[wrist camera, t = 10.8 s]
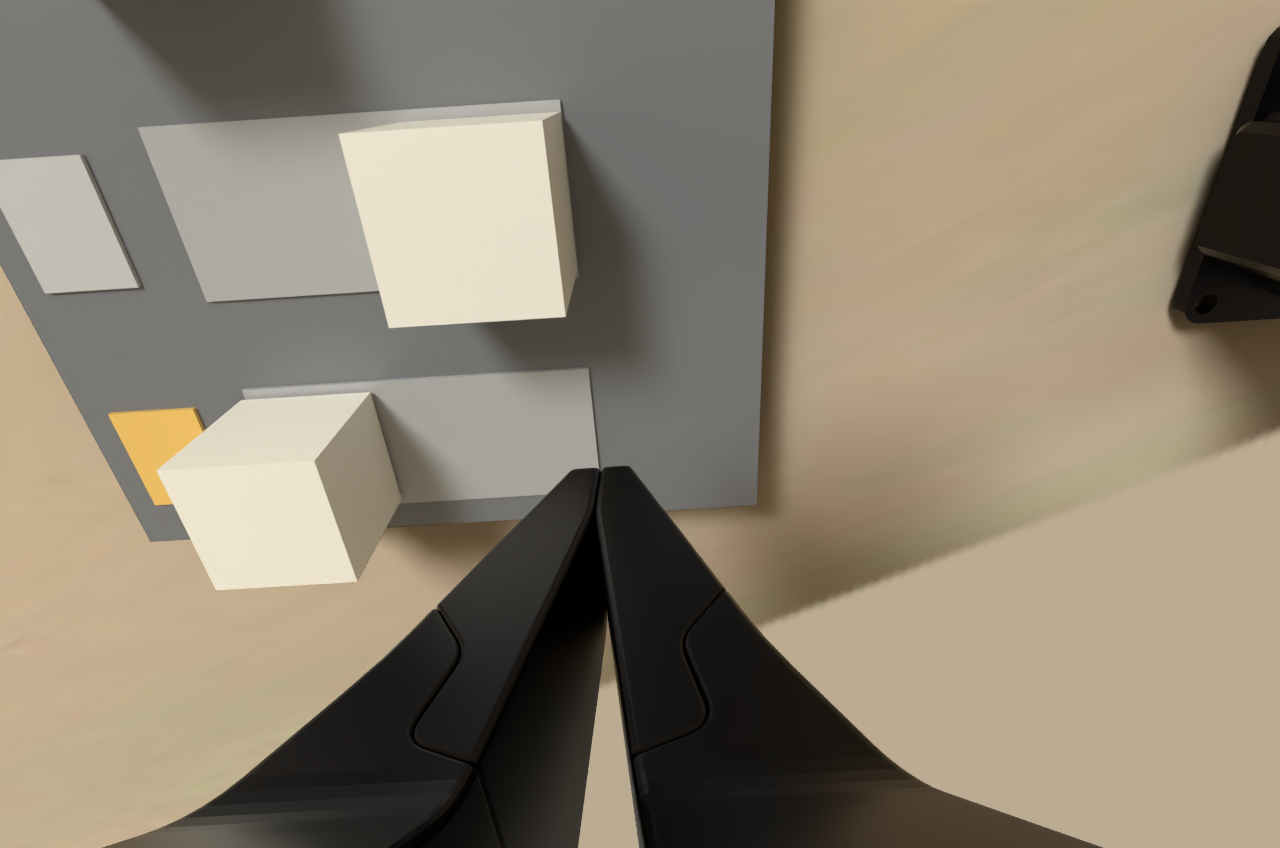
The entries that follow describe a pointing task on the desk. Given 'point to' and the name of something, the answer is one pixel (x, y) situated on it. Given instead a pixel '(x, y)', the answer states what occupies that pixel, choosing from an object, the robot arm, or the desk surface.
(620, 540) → the robot arm
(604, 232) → the switch panel
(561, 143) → the tab
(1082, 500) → the desk surface
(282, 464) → the tab
